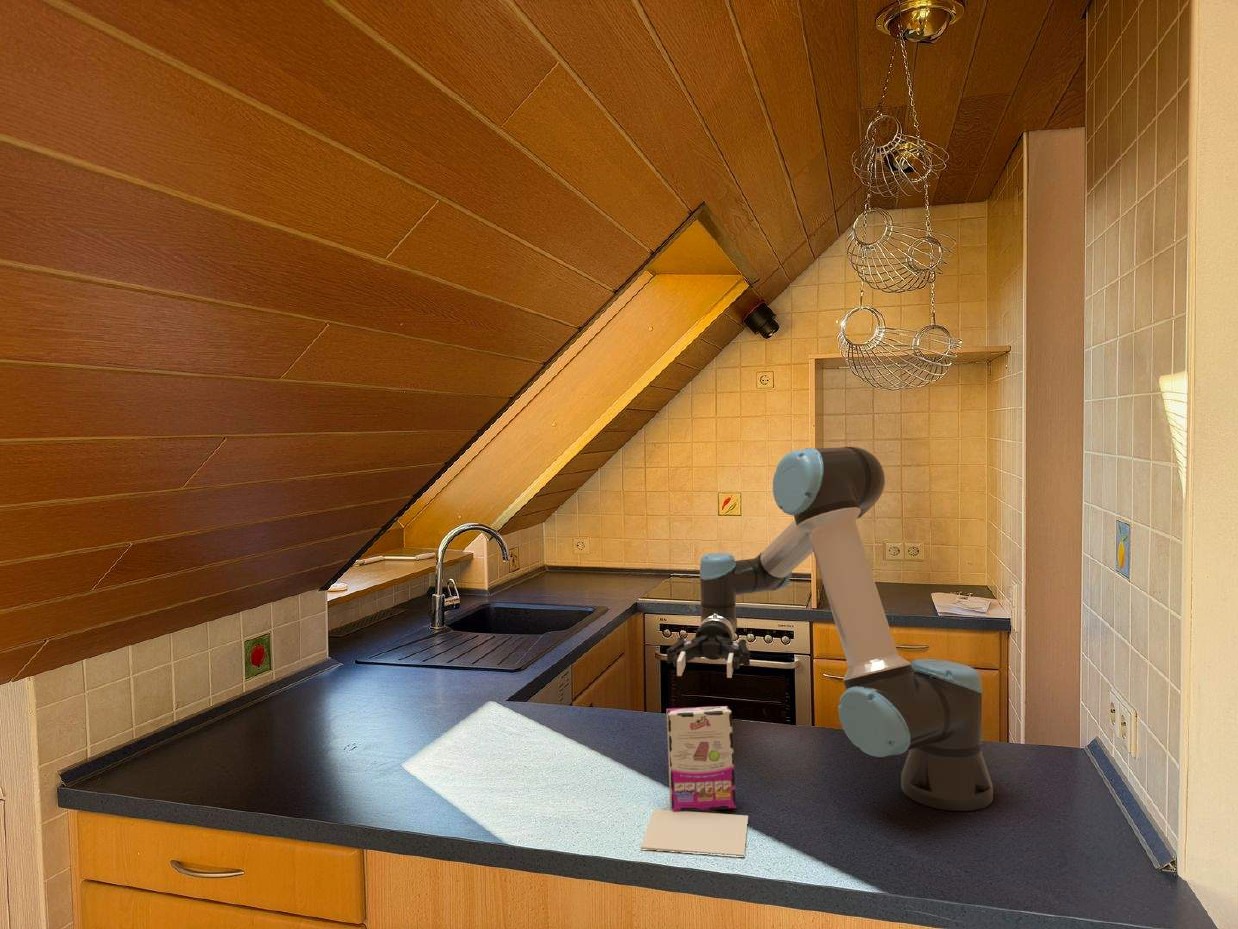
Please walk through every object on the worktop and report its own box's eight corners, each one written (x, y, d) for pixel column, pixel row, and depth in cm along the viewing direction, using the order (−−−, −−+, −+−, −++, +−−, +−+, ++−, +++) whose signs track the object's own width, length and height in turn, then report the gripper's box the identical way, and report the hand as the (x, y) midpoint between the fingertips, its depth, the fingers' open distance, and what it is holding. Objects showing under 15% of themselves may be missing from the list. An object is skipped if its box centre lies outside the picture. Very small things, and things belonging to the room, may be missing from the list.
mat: (653, 812, 144) (653, 809, 144) (748, 818, 141) (748, 815, 141) (640, 850, 131) (640, 847, 131) (744, 858, 128) (744, 855, 128)
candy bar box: (731, 799, 148) (728, 705, 149) (736, 809, 143) (733, 711, 144) (668, 802, 148) (665, 707, 149) (671, 812, 143) (668, 713, 144)
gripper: (663, 618, 176) (645, 647, 153) (766, 620, 171) (763, 650, 149) (664, 653, 176) (646, 687, 154) (766, 657, 172) (763, 692, 150)
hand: (703, 669), depth 152 cm, fingers open, 8 cm apart
